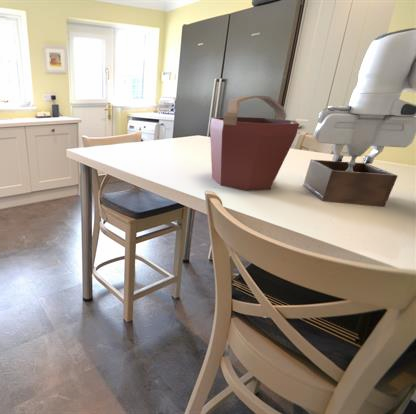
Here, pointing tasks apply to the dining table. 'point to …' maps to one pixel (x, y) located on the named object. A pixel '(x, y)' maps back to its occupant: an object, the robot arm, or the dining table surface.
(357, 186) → the bin
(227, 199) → the dining table surface
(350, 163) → the chalice
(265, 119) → the bucket
